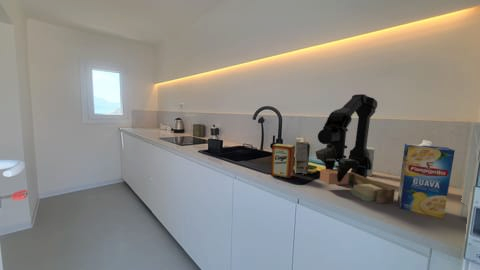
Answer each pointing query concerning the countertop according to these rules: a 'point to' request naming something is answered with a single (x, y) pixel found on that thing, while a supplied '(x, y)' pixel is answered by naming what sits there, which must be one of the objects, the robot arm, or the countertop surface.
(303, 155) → the grey drink carton
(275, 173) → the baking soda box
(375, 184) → the shelf wall
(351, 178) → the bookend
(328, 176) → the reddish brown block
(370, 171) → the skincare box
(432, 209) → the beverage box
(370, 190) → the pale green block
